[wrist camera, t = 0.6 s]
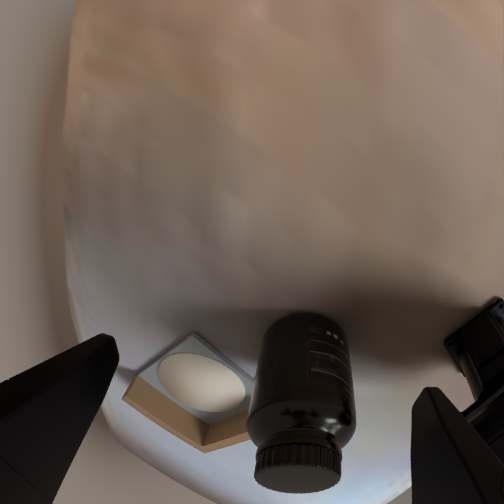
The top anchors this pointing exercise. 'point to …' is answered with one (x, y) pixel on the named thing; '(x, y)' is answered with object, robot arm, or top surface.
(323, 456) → the supplement bottle
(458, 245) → the top surface
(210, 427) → the corner arena
